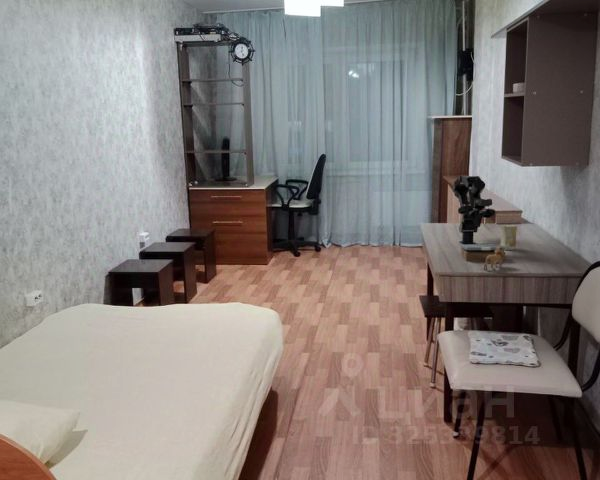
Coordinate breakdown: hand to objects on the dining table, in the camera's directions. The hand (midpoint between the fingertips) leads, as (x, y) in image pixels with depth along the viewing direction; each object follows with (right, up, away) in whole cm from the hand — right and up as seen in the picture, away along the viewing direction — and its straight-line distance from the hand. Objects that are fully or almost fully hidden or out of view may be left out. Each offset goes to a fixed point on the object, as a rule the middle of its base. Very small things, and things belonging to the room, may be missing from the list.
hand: (478, 226), depth 285 cm
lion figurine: (-1, -19, -25) cm, 32 cm away
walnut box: (-1, -15, -8) cm, 17 cm away
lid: (-1, -11, -9) cm, 14 cm away
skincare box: (+17, -11, +8) cm, 22 cm away
